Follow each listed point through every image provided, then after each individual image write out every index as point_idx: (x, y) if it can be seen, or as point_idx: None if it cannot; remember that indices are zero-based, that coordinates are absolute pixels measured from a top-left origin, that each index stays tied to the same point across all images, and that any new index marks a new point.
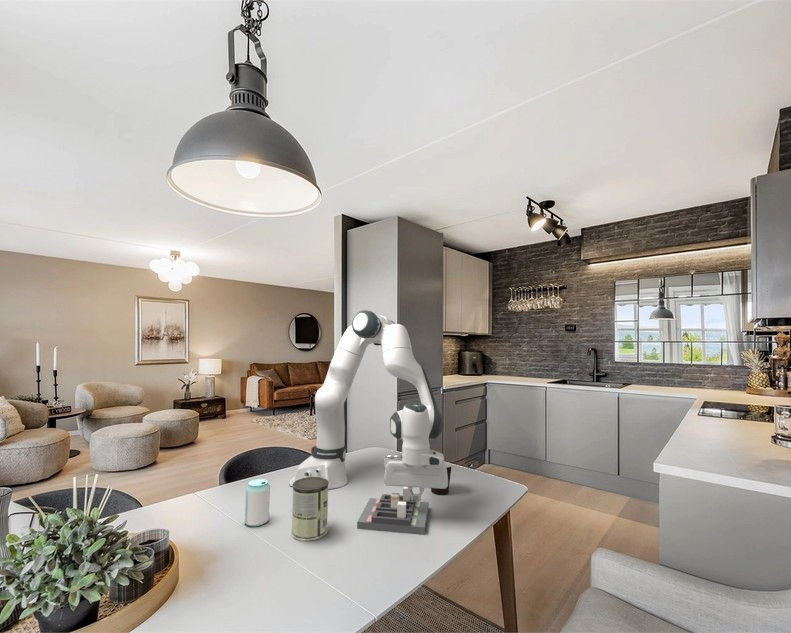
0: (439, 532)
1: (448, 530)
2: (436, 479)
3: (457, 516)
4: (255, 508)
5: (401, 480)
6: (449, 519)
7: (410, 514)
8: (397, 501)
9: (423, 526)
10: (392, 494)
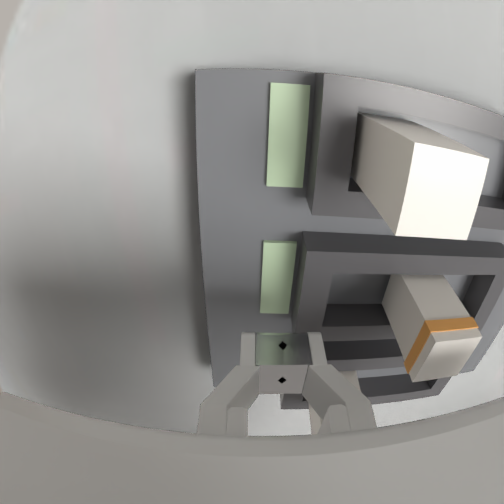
0: (114, 121)
1: (73, 159)
2: (29, 485)
3: (75, 307)
4: None
5: (463, 466)
6: (96, 278)
7: (321, 188)
8: (425, 310)
9: (203, 80)
10: (466, 352)
